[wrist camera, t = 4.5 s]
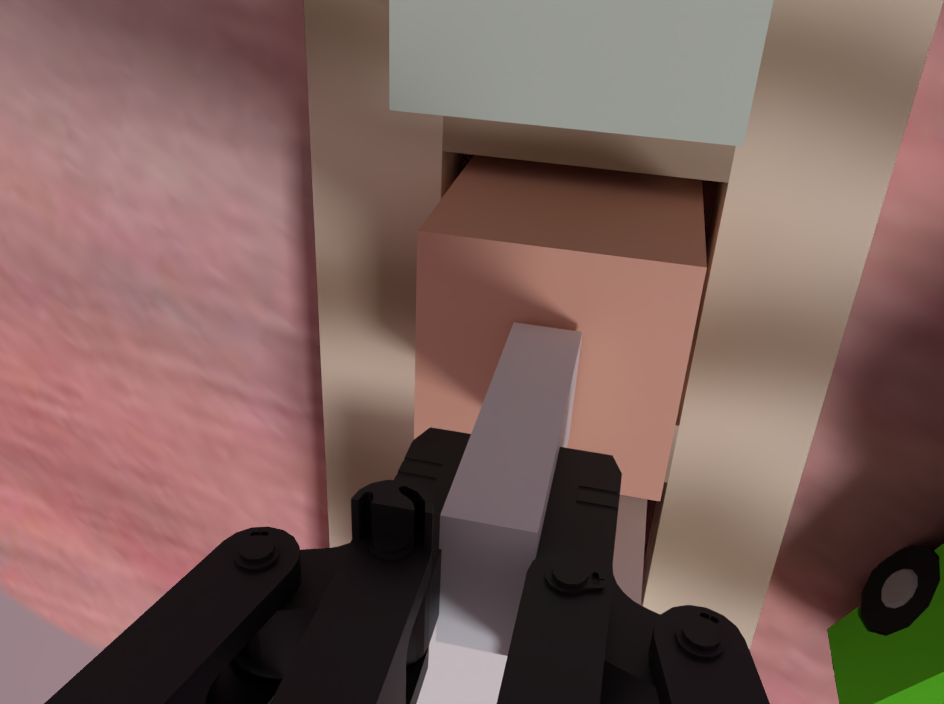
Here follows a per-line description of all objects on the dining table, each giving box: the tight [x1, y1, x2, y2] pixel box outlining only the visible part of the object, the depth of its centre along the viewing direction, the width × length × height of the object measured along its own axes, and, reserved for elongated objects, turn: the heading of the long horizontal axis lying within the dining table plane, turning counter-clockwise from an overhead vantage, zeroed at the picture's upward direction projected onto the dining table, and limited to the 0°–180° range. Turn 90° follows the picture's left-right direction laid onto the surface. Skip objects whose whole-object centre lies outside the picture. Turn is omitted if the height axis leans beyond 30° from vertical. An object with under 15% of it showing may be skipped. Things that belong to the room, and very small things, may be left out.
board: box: [304, 0, 944, 650], centre depth 23 cm, size 29×14×3 cm, turn 177°
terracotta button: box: [414, 155, 707, 501], centre depth 22 cm, size 6×6×6 cm
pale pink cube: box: [416, 495, 647, 704], centre depth 24 cm, size 6×6×6 cm
